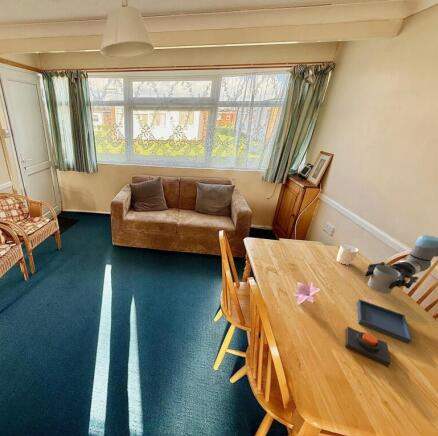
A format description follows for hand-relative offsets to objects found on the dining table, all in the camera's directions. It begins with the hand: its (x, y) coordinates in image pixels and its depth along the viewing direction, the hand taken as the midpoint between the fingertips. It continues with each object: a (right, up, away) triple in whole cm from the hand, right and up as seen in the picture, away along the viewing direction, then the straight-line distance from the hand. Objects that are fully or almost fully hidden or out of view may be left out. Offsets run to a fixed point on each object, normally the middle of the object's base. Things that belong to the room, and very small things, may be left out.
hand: (378, 279), depth 106 cm
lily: (-32, -11, +5) cm, 34 cm away
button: (-23, -18, -19) cm, 35 cm away
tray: (-6, -16, -7) cm, 19 cm away
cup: (+4, -5, +4) cm, 8 cm away
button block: (-23, -21, -18) cm, 36 cm away
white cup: (+12, +2, +33) cm, 35 cm away
